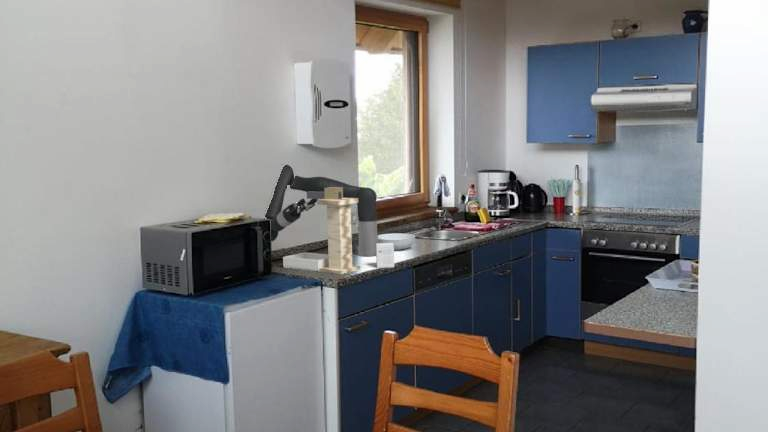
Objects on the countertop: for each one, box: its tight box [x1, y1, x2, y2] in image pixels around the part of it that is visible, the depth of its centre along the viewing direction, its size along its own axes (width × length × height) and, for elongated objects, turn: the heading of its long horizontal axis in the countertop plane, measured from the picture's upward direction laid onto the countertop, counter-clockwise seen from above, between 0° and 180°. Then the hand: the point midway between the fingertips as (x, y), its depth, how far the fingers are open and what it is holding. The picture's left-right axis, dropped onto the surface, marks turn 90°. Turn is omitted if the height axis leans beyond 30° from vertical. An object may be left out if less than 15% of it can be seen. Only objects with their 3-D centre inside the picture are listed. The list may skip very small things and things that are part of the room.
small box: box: [375, 243, 395, 269], centre depth 358 cm, size 8×6×10 cm
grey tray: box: [282, 251, 329, 273], centre depth 361 cm, size 15×21×5 cm
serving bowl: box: [377, 232, 416, 252], centre depth 408 cm, size 21×21×7 cm
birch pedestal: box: [316, 197, 361, 275], centre depth 349 cm, size 14×12×32 cm
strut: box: [306, 187, 343, 200], centre depth 350 cm, size 6×16×5 cm, turn 65°
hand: (310, 199), depth 356 cm, fingers open, 8 cm apart
